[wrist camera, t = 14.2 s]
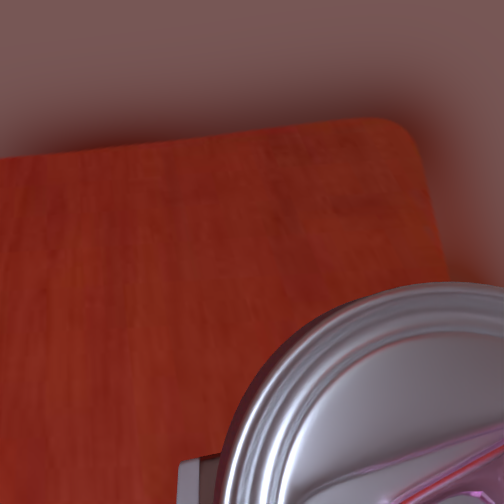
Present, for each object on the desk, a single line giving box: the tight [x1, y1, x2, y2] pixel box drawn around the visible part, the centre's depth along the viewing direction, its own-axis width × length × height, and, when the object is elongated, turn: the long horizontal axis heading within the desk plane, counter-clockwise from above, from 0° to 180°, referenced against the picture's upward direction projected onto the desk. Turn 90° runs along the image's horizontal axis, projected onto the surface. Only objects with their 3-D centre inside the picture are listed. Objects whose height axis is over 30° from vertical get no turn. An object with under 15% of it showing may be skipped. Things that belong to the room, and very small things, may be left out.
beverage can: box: [213, 282, 504, 504], centre depth 11 cm, size 6×6×15 cm
